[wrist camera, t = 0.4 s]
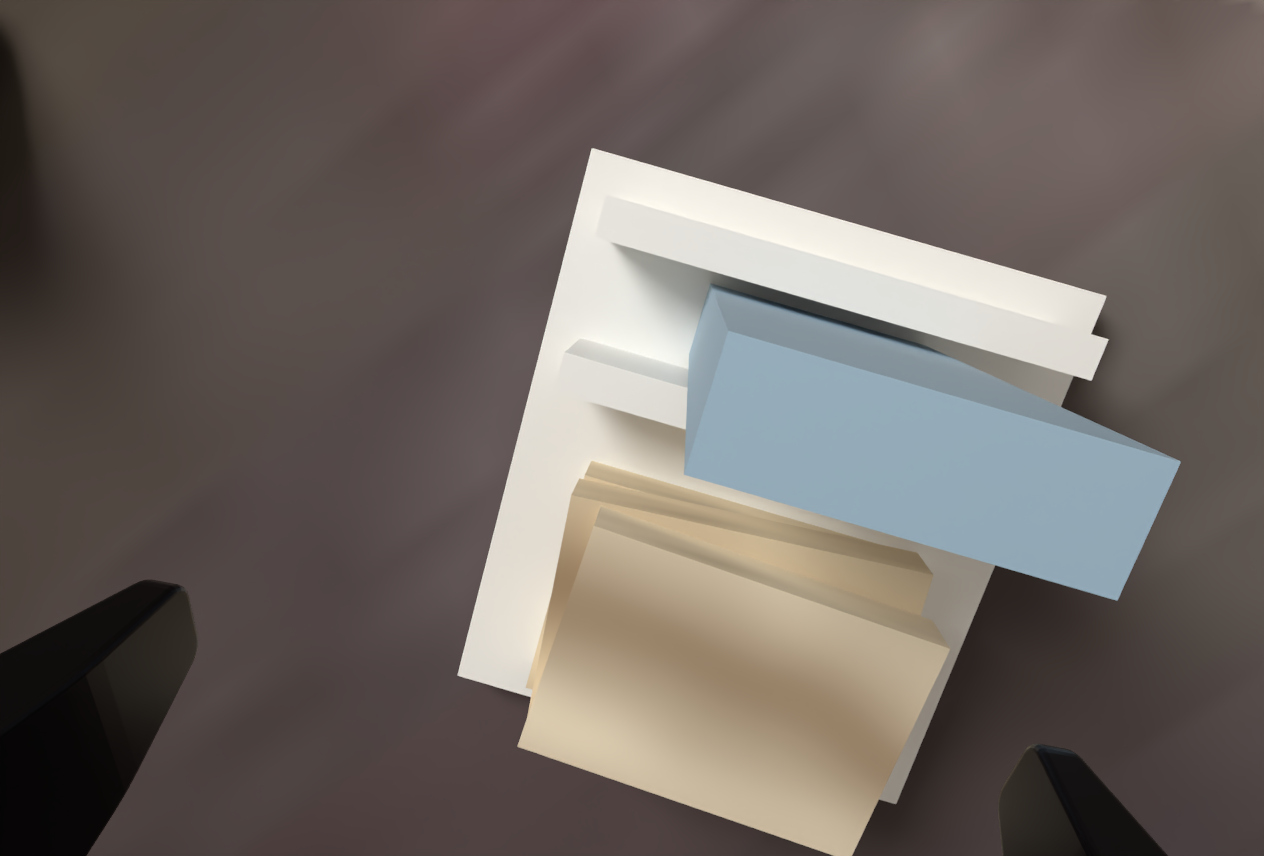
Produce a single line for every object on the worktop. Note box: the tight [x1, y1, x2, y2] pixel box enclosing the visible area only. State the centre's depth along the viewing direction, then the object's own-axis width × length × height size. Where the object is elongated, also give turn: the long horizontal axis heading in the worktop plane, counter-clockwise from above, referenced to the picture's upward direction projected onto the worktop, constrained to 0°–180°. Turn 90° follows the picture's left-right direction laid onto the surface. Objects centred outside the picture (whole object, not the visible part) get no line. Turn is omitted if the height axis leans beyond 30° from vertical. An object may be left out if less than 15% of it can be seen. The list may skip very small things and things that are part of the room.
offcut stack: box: [517, 461, 950, 856], centre depth 22 cm, size 7×10×4 cm
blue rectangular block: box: [684, 283, 1181, 600], centre depth 17 cm, size 2×6×12 cm, turn 74°
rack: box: [457, 148, 1109, 804], centre depth 23 cm, size 16×14×4 cm
